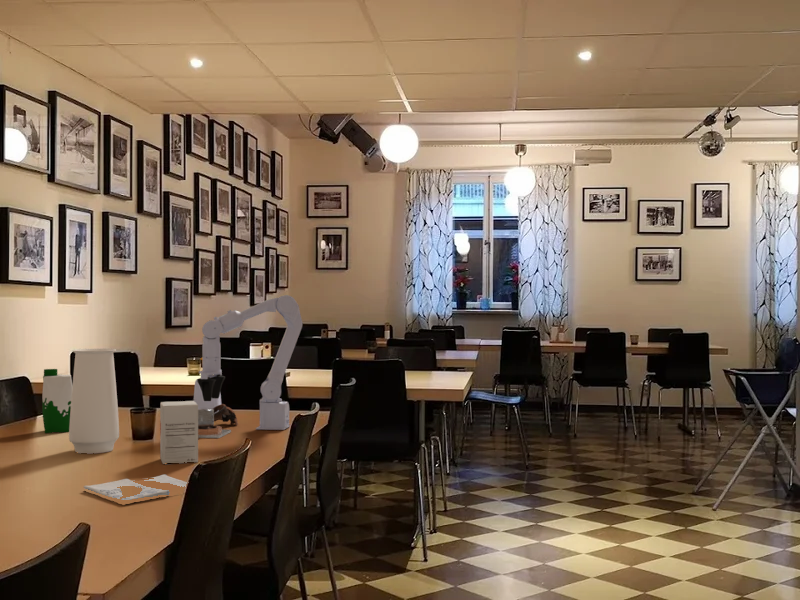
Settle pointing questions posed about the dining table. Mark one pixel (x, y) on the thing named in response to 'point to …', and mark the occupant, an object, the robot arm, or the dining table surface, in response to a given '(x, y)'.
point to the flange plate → (212, 432)
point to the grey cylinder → (205, 418)
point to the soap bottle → (200, 401)
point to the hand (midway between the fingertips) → (211, 399)
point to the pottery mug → (225, 414)
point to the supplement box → (178, 432)
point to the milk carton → (56, 401)
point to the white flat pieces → (113, 491)
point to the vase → (94, 402)
